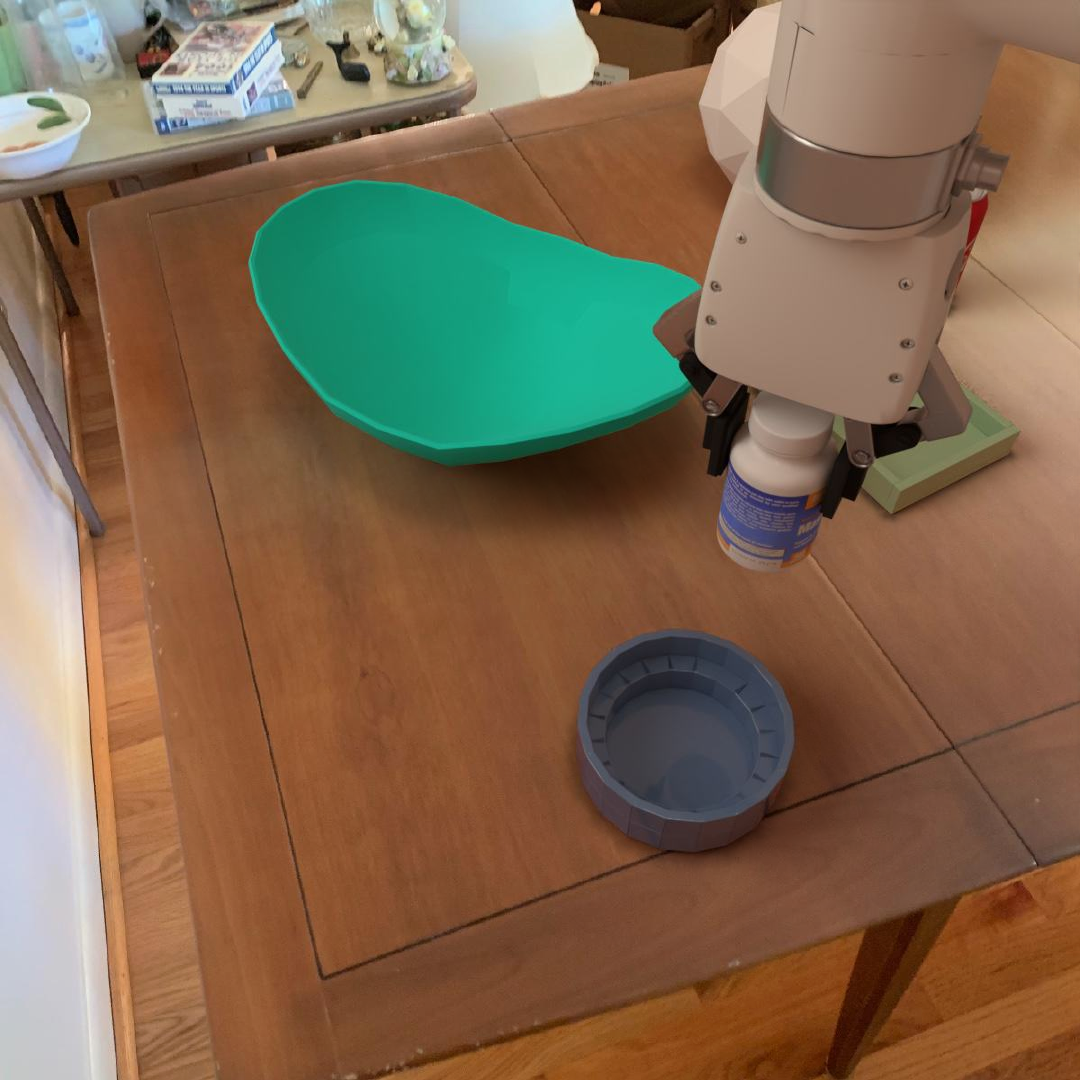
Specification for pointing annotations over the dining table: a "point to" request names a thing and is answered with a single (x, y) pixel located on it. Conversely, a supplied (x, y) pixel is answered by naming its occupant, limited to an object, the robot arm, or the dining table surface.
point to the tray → (936, 456)
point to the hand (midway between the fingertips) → (778, 476)
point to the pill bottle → (776, 484)
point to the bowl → (683, 739)
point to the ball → (739, 89)
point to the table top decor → (462, 323)
